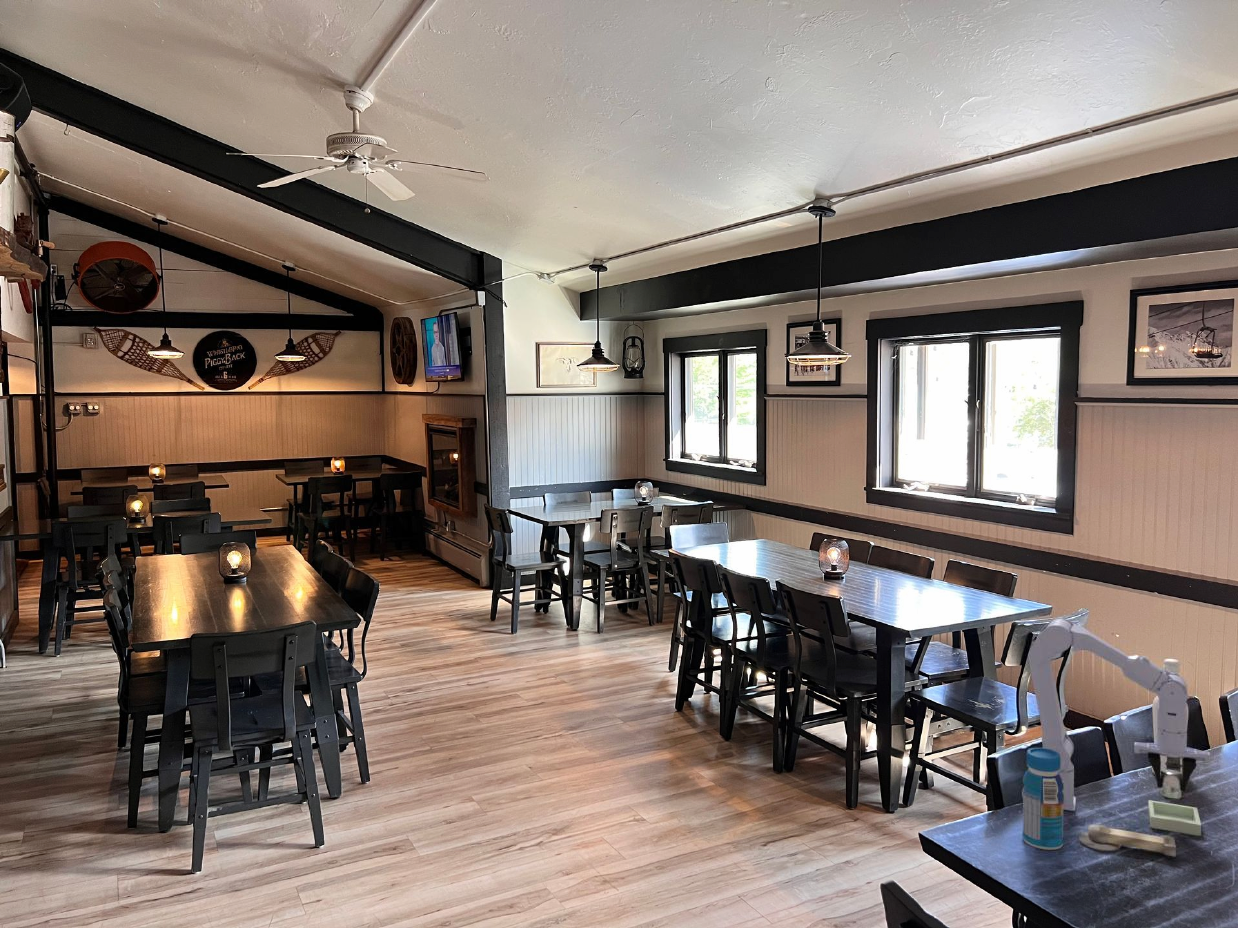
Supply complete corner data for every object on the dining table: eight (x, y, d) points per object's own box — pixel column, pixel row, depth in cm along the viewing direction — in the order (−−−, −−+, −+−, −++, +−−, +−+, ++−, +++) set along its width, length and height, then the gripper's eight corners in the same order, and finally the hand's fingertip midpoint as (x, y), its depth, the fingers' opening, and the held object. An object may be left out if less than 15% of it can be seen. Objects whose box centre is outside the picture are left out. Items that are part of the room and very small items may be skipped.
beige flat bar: (1088, 840, 196) (1088, 831, 196) (1088, 830, 200) (1088, 822, 200) (1175, 856, 188) (1175, 847, 188) (1173, 846, 192) (1173, 837, 192)
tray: (1150, 827, 203) (1150, 816, 203) (1148, 810, 212) (1148, 799, 212) (1200, 835, 199) (1201, 824, 199) (1196, 818, 207) (1196, 807, 207)
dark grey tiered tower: (1179, 789, 223) (1180, 741, 222) (1192, 799, 217) (1193, 750, 216) (1154, 788, 224) (1155, 741, 223) (1166, 798, 218) (1167, 750, 217)
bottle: (1143, 769, 235) (1145, 656, 234) (1173, 767, 236) (1175, 654, 234) (1165, 781, 227) (1167, 664, 226) (1195, 780, 228) (1197, 663, 226)
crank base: (1078, 846, 195) (1078, 843, 195) (1079, 830, 202) (1079, 827, 202) (1120, 854, 191) (1120, 851, 191) (1120, 838, 199) (1120, 835, 199)
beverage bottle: (1015, 842, 197) (1016, 753, 196) (1029, 829, 204) (1029, 742, 202) (1056, 855, 192) (1057, 763, 190) (1069, 840, 198) (1070, 751, 197)
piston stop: (1160, 795, 203) (1160, 774, 203) (1160, 789, 207) (1161, 768, 206) (1181, 799, 201) (1181, 777, 201) (1181, 793, 205) (1181, 771, 204)
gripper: (1135, 729, 203) (1134, 788, 204) (1212, 739, 196) (1211, 800, 197) (1134, 720, 209) (1133, 777, 210) (1208, 729, 203) (1207, 788, 203)
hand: (1171, 787), depth 204 cm, fingers closed on piston stop, 4 cm apart
